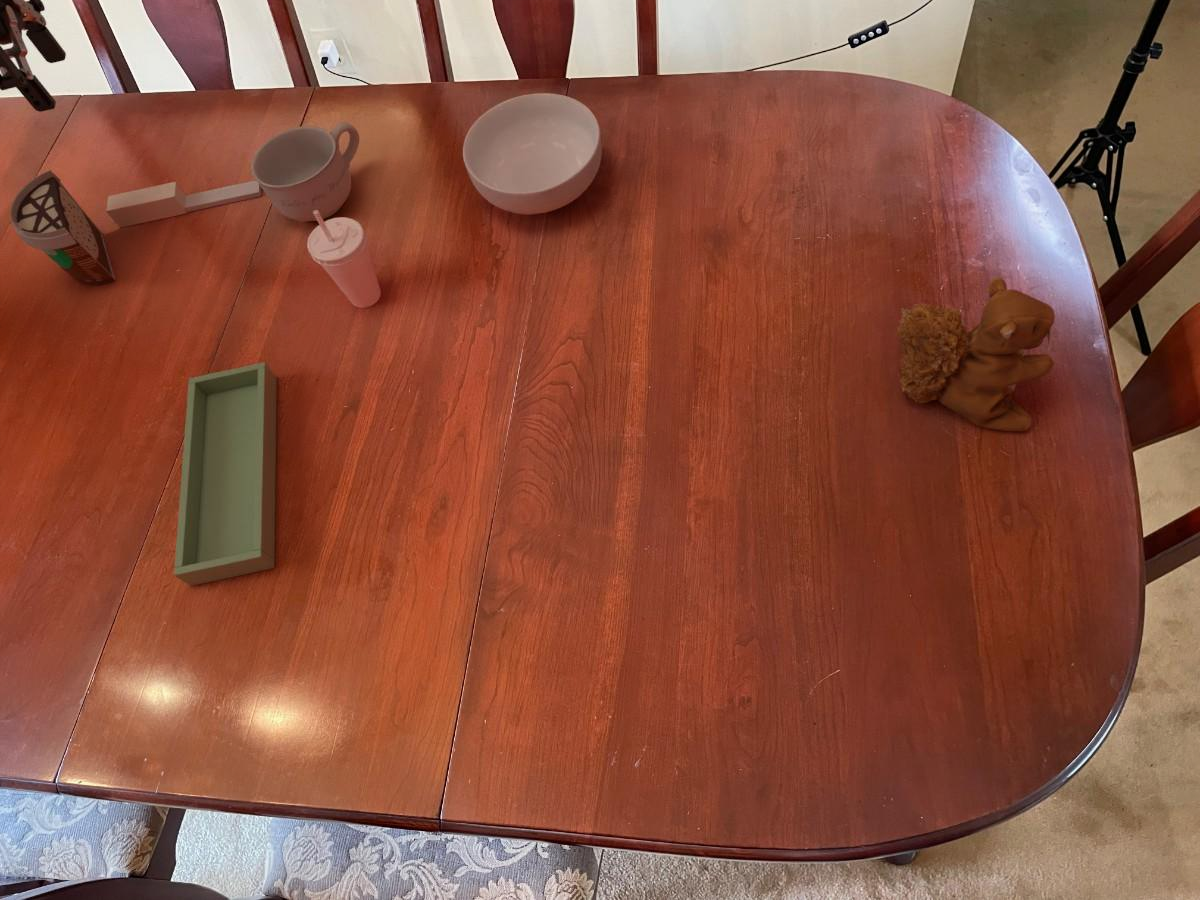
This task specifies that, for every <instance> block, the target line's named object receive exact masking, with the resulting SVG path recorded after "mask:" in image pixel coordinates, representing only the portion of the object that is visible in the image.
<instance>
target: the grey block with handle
mask: <svg viewBox="0 0 1200 900" xmlns="http://www.w3.org/2000/svg"><path fill="white" fill-rule="evenodd" d="M262 191H263V189H262V187H261V186H260V184H259V183H258V182H257V181H256V180H255V179H254V180H250V181H245V182H241V183H236V184H232V185H227V186H223V187H218V188H212V189H209V190H204V191H199V192H194V193H190V194H186V193H185V191H184V190H183V189H182V188H181V186H180V185H179V184H178V182H177V181H172V182H167V183H163V184H158V185H154V186H149V187H143V188H140V189H134V190H131V191H126V192H125V191H124V192H121V193H116V194H111V195H108V196H107V203H106V209H105V212H106V213H107V214H108V216H109V217H110V218H111V219H112V220H113V221H114V223H115V224H116V225H117V226H118V228H120V229H121V228H125V227H126V228H127V227H130V226H135V225H139V224H144V223H149V222H154V221H158V220H163V219H167V218H172V217H176V216H182V215H186V214H188V213H190V212H195V211H199V210H204V209H208V208H214V207H218V206H222V205H223V206H224V205H226V204H227V205H228V204H233V203H237V202H241V201H246V200H250V199H255V198H259V197H260V198H261V197H262V194H263V192H262Z"/></svg>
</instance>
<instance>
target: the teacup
mask: <svg viewBox="0 0 1200 900" xmlns="http://www.w3.org/2000/svg"><path fill="white" fill-rule="evenodd" d="M345 132H347V133H348V134H349V141H348V144H347V146H346V149H345V150H344V152H343V153H342V152H341V151H340V137H341V135H342V134H344V133H345ZM359 145H360V134H359V131H358V130H357V127H355V126H354V125H352V124H351V123H349V122H347V121H346V122H345V121H341V122H338V123H336V124H335V125H334V126H333V127H332V128H331V130H330V132H329V131H328V130H326V128H325V129H324V128H322V127H320V126H319V127H318V126H314V125H303V126H297V127H296V126H295V127H292V128H288V129H286V130H283V131H281V132H278V133H277V134H275V135H273V136H272V137H270V138H269V139H268V140H266V141H265V142H264V143H263V144H262V145H261V146H260V147H259V148H258V149H257V151H255V154H254V155H253V158H252V160H251V164H250V170H251V174H252V177H253V179H254V180H256V181H257V182H258V183H259V184H260V186H261V187H262V191H263V192H264V194H265V195H266V196H267V198H268V200H269V202H271V204H272V205H273V207H274V208H275V209H276V210H277V211H278V212H279V213H280V214H281V215H283V216H285V217H286V218H288V219H290V220H293V221H297V222H318V221H317V219H316V217H315V215H314V214H313V212H314V211H315V210H318V212H319V213H320V215H321V217H322V219H323V220H324V219H327V218H329V217H331V216H332V215H334V214H336V213H337V212H338V211H339V210H340V209H341V208H342V206H343V205H344V203H345V202H346V200H347V199H348V197H349V195H350V192H351V188H352V177H351V173H350V170H349V169H350V165H351V162H352V160H353V158H354V157H355V155H356V153H357V151H358V148H359Z"/></svg>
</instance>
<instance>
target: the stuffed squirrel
mask: <svg viewBox="0 0 1200 900" xmlns="http://www.w3.org/2000/svg"><path fill="white" fill-rule="evenodd" d="M1007 288H1008V287H1007V282H1006V281H1005V280H1004V279H1003V278H1002V277H994V278H992V279H991V280H990V283H989V285H988V297H989V299H988V300H987V302H986V304H985V305H984V307H983V310H982V313H981V318H980V322H979V323H978V325H977V324H976V326H975V327H974V328H972V329H971V331H968V332H967V329H966V326H965V325H964V324H963V322H962V321H963V320H962V312H960V308H959V307H956V306H953V307H952V308H950V307H947V306H946V307H941V306H939V305H936V306H931V305H930V304H927V303H925V302H922V303H918V304H916V303H914V304H913V306H914V307H911V308H910V309H906V308H904V307H902V308H900V309H901V310H900V311H901V316H902V317H901V319H900V320H898V323H899V325H898V326H897V328H896V333H897V334H896V337H897V339H898V341H899V344H900V347H901V350H902V351H904V353H903V354H904V355H903V356H902V357H900V358H899V360H900V363H899V367H900V370H901V371H900V373H901V379H900V380H899V381H898V383H900V386H901V392H902V393H904V394H906V395H907V397H908V398H910V399H912V400H913V401H914V403H917V404H927V403H930V402H932V401H936V400H937V401H938V402H939V404H941V405H942V406H945V407H947V409H950V410H951V411H953V412H954V413H956V414H958V415H959V416H961V417H962V418H964V419H966V420H968V421H969V422H970V423H972V424H973V425H974V426H977V427H980V428H985V429H990V430H996V431H1001V432H1002V431H1004V432H1020V433H1021V432H1025V431H1027V430H1029V428H1030V427H1031V424H1032V418H1031V416H1030V415H1029V413H1028V412H1027V411H1026V410H1025V409H1024V408H1023V407H1022V406H1020V405H1019V404H1018V403H1017V402H1015V401H1014V400H1013V399H1012V396H1013V393H1014V391H1015V390H1016V389H1015V388H1016V385H1019V384H1023V383H1027V382H1031V381H1035V380H1038V379H1041V378H1043V377H1044V376H1046V375H1048V374H1049V373H1050V372H1051V371H1052V370H1053V369H1054V367H1055V361H1054V360H1053V358H1052V356H1051V355H1048V354H1045V353H1044V354H1024V352H1025V351H1024V350H1027V351H1028V350H1033V349H1037V348H1038V347H1040V346H1041V345H1042V344H1043V343H1044V339H1045V338H1047V351H1048V352H1049V351H1052V350H1053V349H1052V345H1051V344H1052V331H1051V330H1052V326H1054V323H1055V317H1056V315H1055V310H1054V309H1053V308H1052V306H1050V305H1049V304H1047V303H1045V302H1043V301H1041V300H1039V299H1037V298H1035V297H1033V296H1031V295H1029V294H1026V293H1023V292H1022V291H1021V290H1020V291H1019V290H1017V289H1012V288H1011V289H1007Z"/></svg>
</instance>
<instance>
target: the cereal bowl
mask: <svg viewBox="0 0 1200 900" xmlns="http://www.w3.org/2000/svg"><path fill="white" fill-rule="evenodd" d="M464 138H465V139H464V141H463V146H462V158H463V163H464V167H465V169H466V173H467V174H468V177H469V179H470V181H471V183H472V185H473V187H474V188H475V189H476V190H477V192H478V193H479V195H480V196H481V197H482V198H483V199H485V200H486V201H488V203H489V204H491V205H493V206H494V207H496V208H498V209H501V210H503V211H505V212H509V213H512V214H518V215H538V214H539V215H540V214H544V213H545V214H546V213H549V212H552V211H555V210H558V209H561V208H563V207H565V206H567V205H569V204H570V203H572V202H573V201H575V200H576V199H578V198H579V197H580V196H581V195H582V194H583V193H584V192H585V191H586V190H587V189H588V188H589V187H590V185H591V184H592V182H593V181H594V179H595V178H596V175H597V174H598V171H599V168H600V167H601V166H600V165H601V161H602V155H603V142H602V133H601V127H600V124H599V123H598V120H597V118H596V116H595V114H594V113H593V112H592V110H590V108H589V107H588V106H586V105H585V104H584V103H583V102H580V101H579V100H577V99H575V98H572V97H571V96H567V95H563V94H558V93H547V92H537V93H530V94H523V95H518V96H515V97H512V98H508V99H507V100H505V101H504V100H503V101H502V102H499V103H498V104H495V105H494V106H492V107H491V108H489V109H487V110H486V111H485V112H484V113H482V114H481V115H480V116H479V117H478V118H477V119H476V120H475V121H474V123H473V124H472V125H471V127H470V128H469V130H468V132H467V133H466V135H465V137H464Z"/></svg>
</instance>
